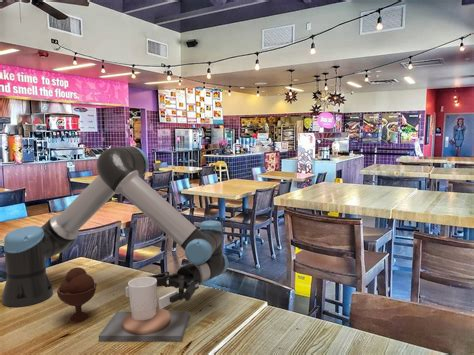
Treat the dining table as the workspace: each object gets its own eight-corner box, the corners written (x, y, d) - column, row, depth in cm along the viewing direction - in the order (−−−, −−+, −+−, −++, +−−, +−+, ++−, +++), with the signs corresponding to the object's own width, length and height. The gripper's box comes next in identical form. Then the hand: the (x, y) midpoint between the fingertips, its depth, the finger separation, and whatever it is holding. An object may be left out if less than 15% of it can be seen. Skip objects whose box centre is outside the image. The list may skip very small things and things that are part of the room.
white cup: (150, 323, 102) (149, 288, 101) (124, 320, 103) (122, 286, 102) (162, 310, 109) (161, 277, 108) (138, 308, 111) (136, 275, 110)
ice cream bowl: (50, 323, 108) (47, 273, 107) (78, 307, 119) (76, 261, 117) (79, 329, 105) (76, 277, 103) (105, 312, 115) (103, 265, 114)
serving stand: (98, 341, 98) (98, 330, 98) (117, 316, 112) (116, 306, 112) (181, 341, 98) (181, 330, 98) (189, 316, 112) (189, 306, 112)
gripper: (224, 294, 114) (175, 322, 97) (165, 278, 128) (114, 300, 111) (223, 270, 113) (174, 294, 96) (165, 256, 127) (113, 275, 110)
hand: (142, 297), depth 103 cm, fingers open, 13 cm apart
